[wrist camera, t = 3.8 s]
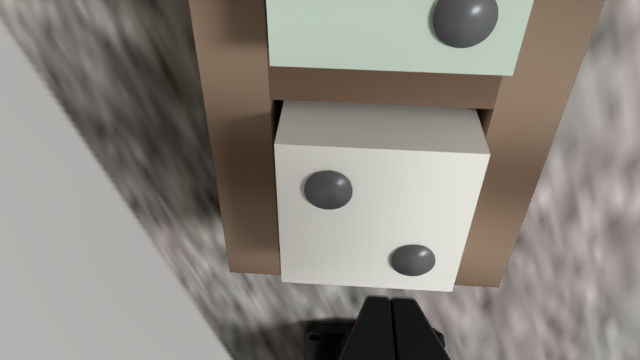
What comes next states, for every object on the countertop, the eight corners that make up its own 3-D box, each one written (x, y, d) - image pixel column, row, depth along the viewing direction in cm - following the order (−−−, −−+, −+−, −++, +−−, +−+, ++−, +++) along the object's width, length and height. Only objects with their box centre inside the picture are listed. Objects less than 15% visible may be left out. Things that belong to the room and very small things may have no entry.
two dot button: (441, 230, 17) (452, 294, 15) (290, 222, 17) (281, 284, 15) (472, 98, 14) (491, 156, 12) (286, 90, 14) (273, 146, 12)
